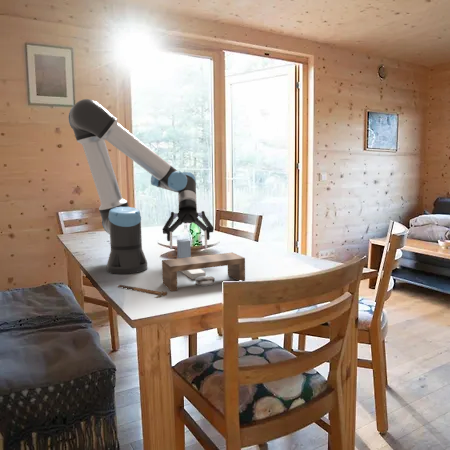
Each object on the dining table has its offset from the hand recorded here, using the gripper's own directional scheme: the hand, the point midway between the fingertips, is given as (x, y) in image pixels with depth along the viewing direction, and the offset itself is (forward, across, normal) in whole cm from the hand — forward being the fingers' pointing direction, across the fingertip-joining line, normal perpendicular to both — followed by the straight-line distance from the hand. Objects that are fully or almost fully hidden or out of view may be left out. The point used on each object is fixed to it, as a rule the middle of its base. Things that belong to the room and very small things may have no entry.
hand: (188, 246), depth 164 cm
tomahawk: (+28, +14, +16) cm, 35 cm away
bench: (+22, -5, +11) cm, 25 cm away
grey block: (+12, 0, +2) cm, 13 cm away
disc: (+22, -5, +12) cm, 26 cm away
